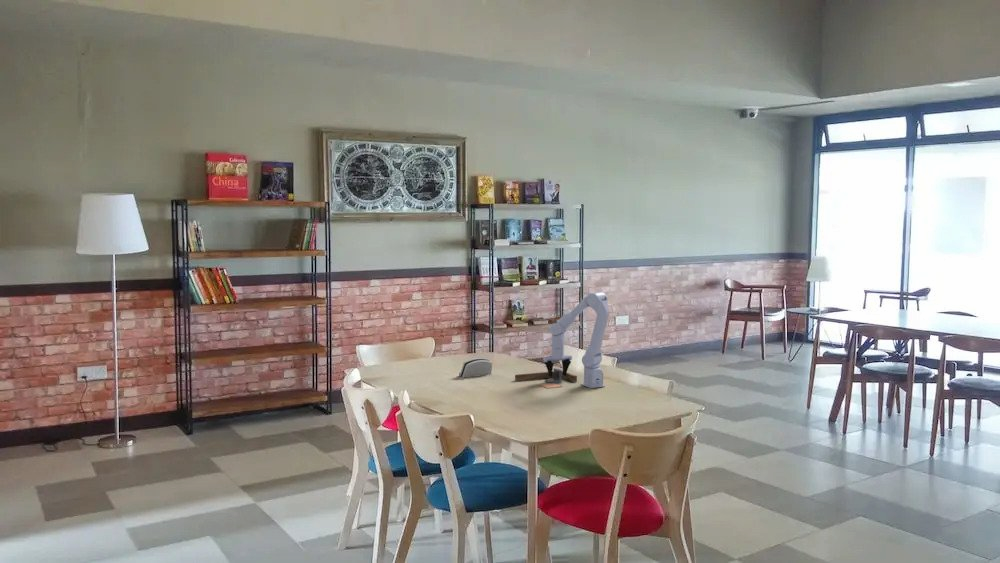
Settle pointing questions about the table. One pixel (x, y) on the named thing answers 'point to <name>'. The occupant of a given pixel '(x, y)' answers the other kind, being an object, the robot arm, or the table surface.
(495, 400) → the table surface
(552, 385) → the pad
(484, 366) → the grey curved-top block
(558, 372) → the bracket
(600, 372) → the robot arm
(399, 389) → the table surface
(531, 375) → the brown wooden l-shape
